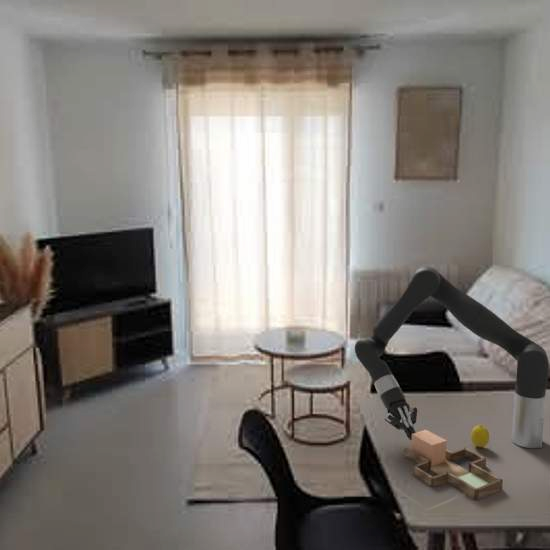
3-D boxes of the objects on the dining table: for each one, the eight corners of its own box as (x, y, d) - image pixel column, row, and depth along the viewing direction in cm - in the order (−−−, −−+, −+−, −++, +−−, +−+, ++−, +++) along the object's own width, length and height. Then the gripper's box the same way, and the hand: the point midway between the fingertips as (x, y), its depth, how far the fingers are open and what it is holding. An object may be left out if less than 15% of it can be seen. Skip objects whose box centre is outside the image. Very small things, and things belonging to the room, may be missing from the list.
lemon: (479, 453, 191) (481, 430, 189) (467, 446, 196) (468, 423, 194) (492, 449, 193) (493, 426, 192) (479, 442, 198) (480, 420, 197)
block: (411, 454, 190) (411, 434, 189) (424, 449, 193) (425, 429, 192) (431, 466, 183) (432, 445, 181) (445, 461, 185) (446, 440, 184)
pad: (449, 482, 174) (449, 481, 174) (471, 473, 179) (471, 472, 179) (475, 497, 166) (475, 496, 166) (497, 488, 171) (497, 487, 170)
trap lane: (390, 461, 187) (390, 452, 186) (441, 443, 198) (442, 435, 197) (461, 506, 162) (462, 496, 161) (515, 483, 173) (516, 474, 172)
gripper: (379, 390, 195) (404, 439, 187) (409, 382, 201) (435, 429, 193) (369, 400, 200) (392, 448, 192) (398, 392, 207) (423, 438, 199)
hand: (413, 438), depth 193 cm, fingers closed
